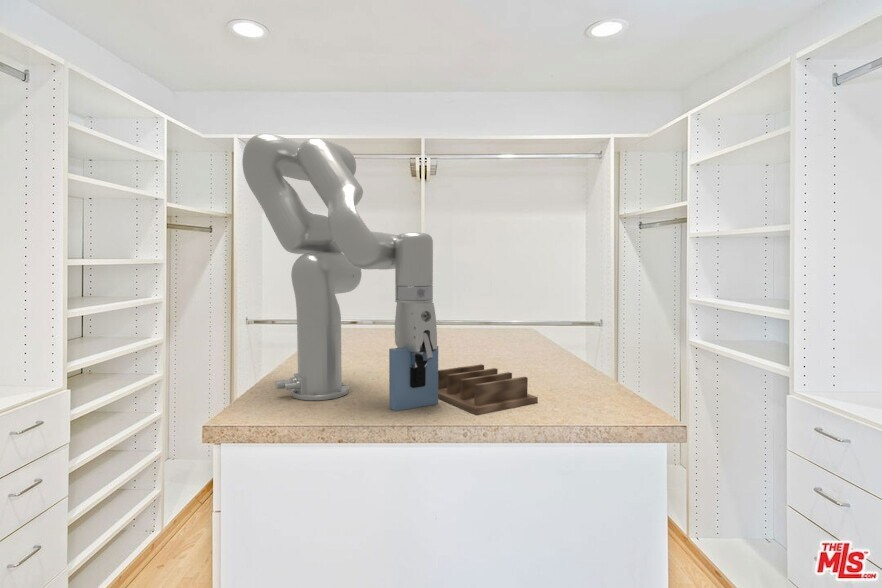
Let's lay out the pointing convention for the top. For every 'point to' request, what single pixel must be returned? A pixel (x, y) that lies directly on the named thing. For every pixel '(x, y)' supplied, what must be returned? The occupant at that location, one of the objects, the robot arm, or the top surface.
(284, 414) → the top surface
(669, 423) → the top surface
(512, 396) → the rack
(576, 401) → the top surface
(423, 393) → the tile
